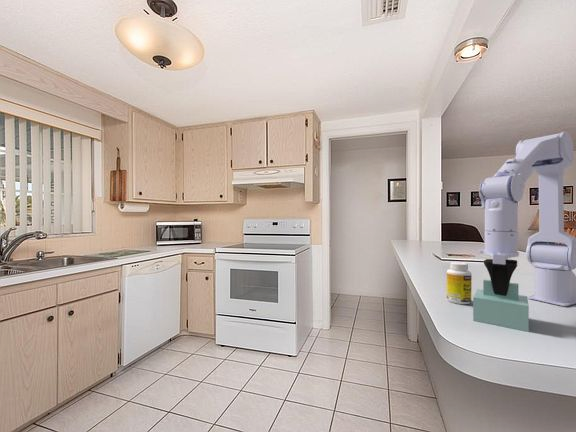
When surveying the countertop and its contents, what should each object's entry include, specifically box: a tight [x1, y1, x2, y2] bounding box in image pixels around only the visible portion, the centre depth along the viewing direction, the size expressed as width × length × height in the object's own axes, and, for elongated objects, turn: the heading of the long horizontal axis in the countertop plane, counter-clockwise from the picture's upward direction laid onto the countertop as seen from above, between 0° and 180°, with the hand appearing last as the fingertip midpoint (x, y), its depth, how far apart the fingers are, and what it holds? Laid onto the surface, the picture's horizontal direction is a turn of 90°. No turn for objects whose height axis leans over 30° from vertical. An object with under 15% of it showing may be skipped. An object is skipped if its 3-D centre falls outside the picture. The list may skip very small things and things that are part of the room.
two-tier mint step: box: [472, 279, 530, 332], centre depth 60 cm, size 9×9×8 cm
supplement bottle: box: [446, 261, 473, 305], centre depth 73 cm, size 6×6×10 cm
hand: (500, 293), depth 60 cm, fingers open, 2 cm apart
